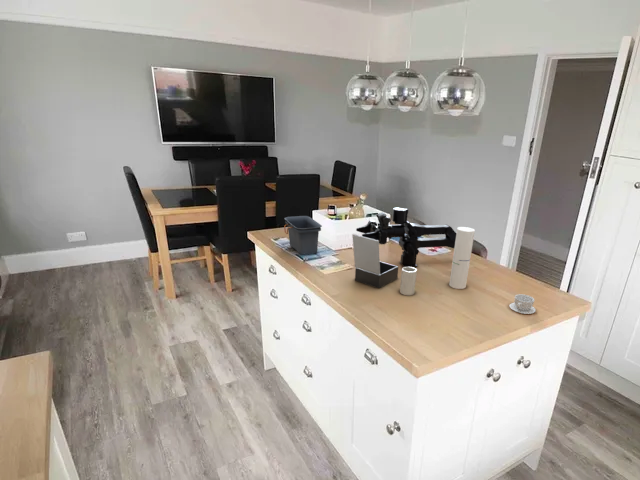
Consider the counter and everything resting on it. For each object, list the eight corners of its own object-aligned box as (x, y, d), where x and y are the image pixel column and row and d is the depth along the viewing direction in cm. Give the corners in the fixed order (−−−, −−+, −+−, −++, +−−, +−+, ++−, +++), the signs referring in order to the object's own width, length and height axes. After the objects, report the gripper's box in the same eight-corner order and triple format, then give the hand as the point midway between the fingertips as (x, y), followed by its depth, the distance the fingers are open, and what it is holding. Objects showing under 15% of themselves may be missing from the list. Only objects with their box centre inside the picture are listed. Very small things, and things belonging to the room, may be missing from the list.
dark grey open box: (374, 271, 188) (375, 259, 186) (397, 278, 183) (398, 266, 180) (354, 280, 177) (355, 267, 175) (378, 288, 171) (379, 275, 169)
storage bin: (324, 254, 205) (324, 226, 199) (294, 258, 197) (293, 228, 191) (308, 242, 221) (307, 215, 215) (279, 245, 213) (278, 217, 207)
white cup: (411, 288, 173) (413, 266, 169) (416, 294, 168) (419, 271, 164) (397, 289, 171) (399, 267, 167) (402, 295, 166) (404, 272, 162)
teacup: (515, 301, 169) (517, 290, 167) (539, 309, 164) (541, 298, 162) (504, 308, 162) (507, 297, 160) (529, 317, 156) (531, 306, 154)
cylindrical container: (465, 289, 176) (474, 232, 166) (448, 287, 178) (456, 230, 167) (466, 283, 183) (475, 228, 172) (449, 281, 184) (457, 226, 173)
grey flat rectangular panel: (353, 233, 167) (352, 234, 166) (378, 240, 161) (377, 241, 160) (356, 266, 175) (354, 267, 174) (380, 274, 169) (379, 274, 169)
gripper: (386, 208, 194) (353, 209, 189) (400, 218, 179) (365, 220, 174) (385, 232, 199) (353, 233, 194) (398, 243, 183) (365, 245, 178)
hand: (359, 232), depth 185 cm, fingers open, 9 cm apart
